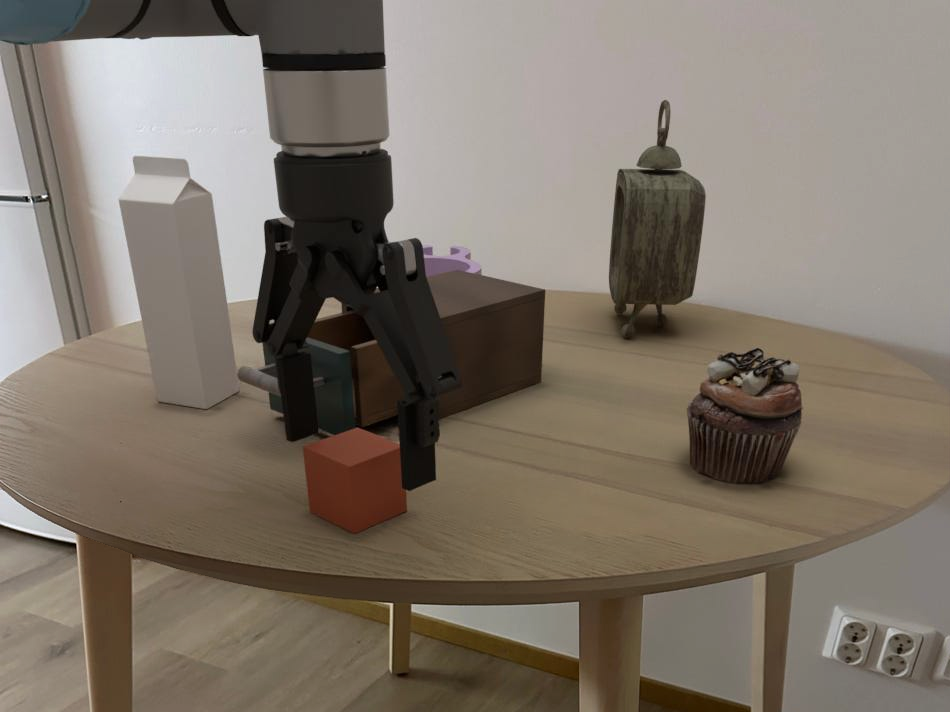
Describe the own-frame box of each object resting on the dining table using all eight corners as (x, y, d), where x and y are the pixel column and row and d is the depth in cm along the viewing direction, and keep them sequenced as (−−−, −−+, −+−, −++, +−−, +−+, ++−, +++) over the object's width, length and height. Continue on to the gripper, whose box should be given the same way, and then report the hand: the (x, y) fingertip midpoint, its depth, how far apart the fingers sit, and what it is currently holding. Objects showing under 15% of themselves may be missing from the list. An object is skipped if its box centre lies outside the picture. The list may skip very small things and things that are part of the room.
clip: (398, 297, 129) (396, 244, 125) (487, 299, 128) (488, 246, 124) (374, 338, 112) (371, 279, 109) (476, 341, 112) (476, 281, 108)
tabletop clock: (605, 311, 124) (623, 95, 110) (672, 312, 124) (699, 96, 110) (613, 342, 112) (635, 104, 98) (688, 344, 112) (721, 106, 98)
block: (309, 511, 73) (302, 446, 70) (361, 490, 77) (357, 427, 73) (354, 534, 70) (349, 466, 67) (407, 510, 73) (404, 445, 70)
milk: (192, 384, 98) (153, 151, 86) (241, 391, 96) (208, 155, 84) (156, 402, 93) (109, 158, 81) (206, 410, 92) (166, 162, 79)
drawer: (306, 454, 80) (297, 365, 76) (231, 421, 87) (218, 337, 82) (465, 398, 93) (464, 318, 88) (388, 372, 99) (385, 297, 95)
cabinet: (431, 422, 90) (429, 321, 84) (347, 391, 97) (340, 296, 91) (541, 381, 100) (545, 289, 94) (457, 356, 107) (457, 269, 101)
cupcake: (812, 466, 81) (837, 352, 76) (752, 498, 76) (775, 379, 70) (719, 436, 87) (737, 328, 81) (657, 464, 81) (672, 351, 76)
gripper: (517, 157, 54) (512, 490, 66) (263, 130, 68) (296, 408, 80) (425, 170, 50) (437, 525, 61) (174, 138, 64) (223, 431, 76)
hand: (358, 459), depth 71 cm, fingers open, 13 cm apart
